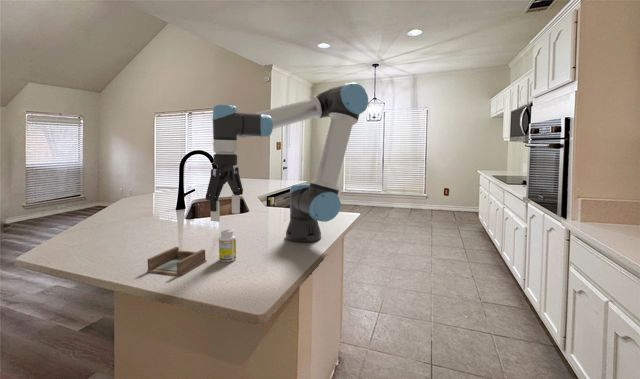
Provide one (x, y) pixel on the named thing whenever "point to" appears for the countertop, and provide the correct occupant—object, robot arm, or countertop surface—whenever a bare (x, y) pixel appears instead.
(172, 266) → the u rest
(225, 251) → the supplement bottle
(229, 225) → the countertop surface
